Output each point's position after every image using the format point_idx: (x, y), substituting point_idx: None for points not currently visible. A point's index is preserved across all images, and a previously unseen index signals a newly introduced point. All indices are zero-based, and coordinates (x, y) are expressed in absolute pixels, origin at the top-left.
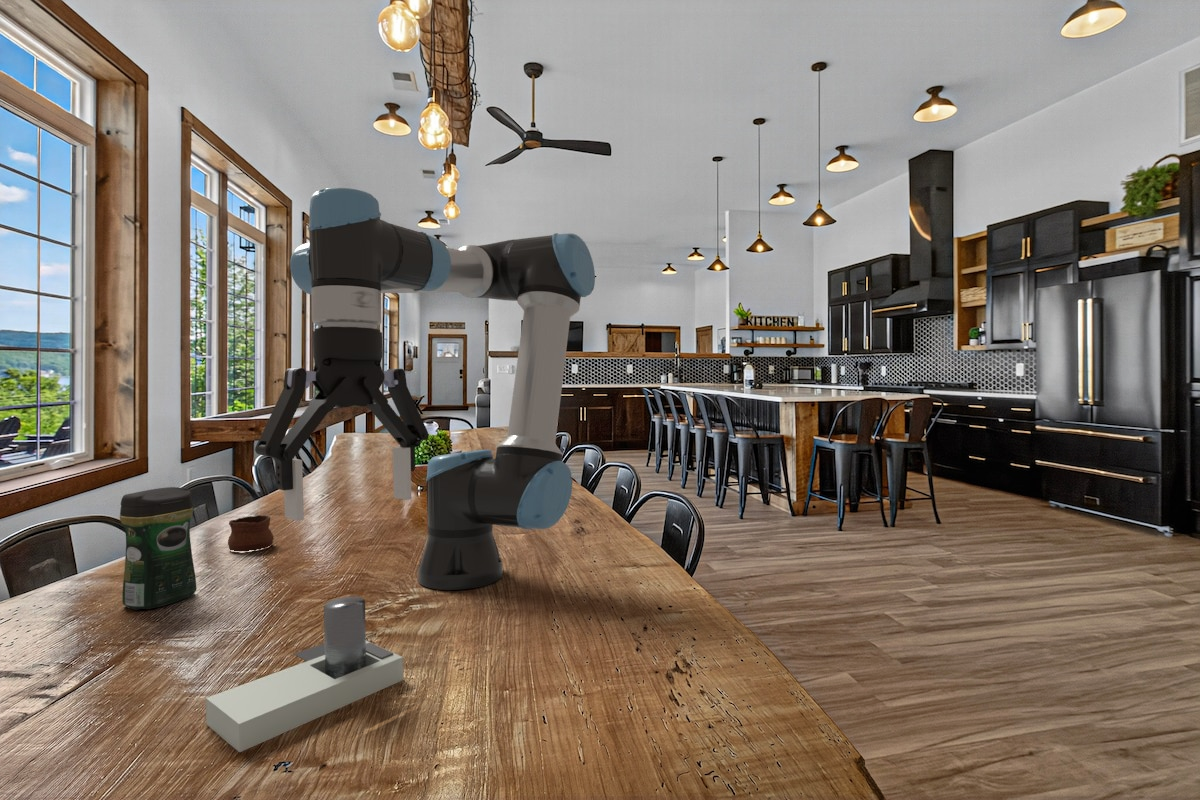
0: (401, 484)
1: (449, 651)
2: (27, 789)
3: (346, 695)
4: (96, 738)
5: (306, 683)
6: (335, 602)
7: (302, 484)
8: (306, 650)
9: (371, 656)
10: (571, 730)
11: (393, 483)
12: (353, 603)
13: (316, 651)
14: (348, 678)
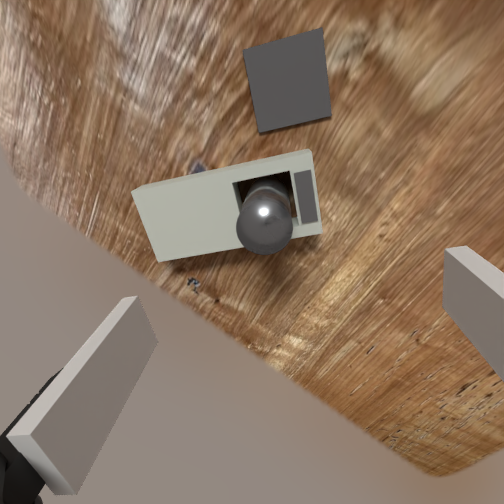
0: (469, 316)
1: (402, 185)
2: (30, 195)
3: None
4: (54, 138)
5: (219, 225)
6: (254, 216)
7: (119, 411)
8: (259, 49)
9: (296, 207)
10: (373, 370)
11: (471, 274)
12: (273, 238)
13: (270, 65)
14: None
